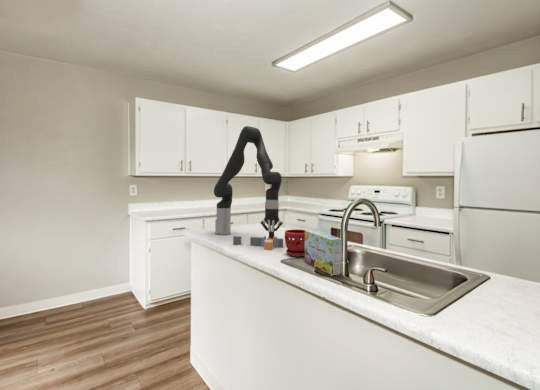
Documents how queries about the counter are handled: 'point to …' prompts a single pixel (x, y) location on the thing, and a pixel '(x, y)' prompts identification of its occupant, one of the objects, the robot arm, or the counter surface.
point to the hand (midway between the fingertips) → (271, 238)
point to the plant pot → (295, 242)
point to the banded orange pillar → (269, 243)
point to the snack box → (323, 251)
